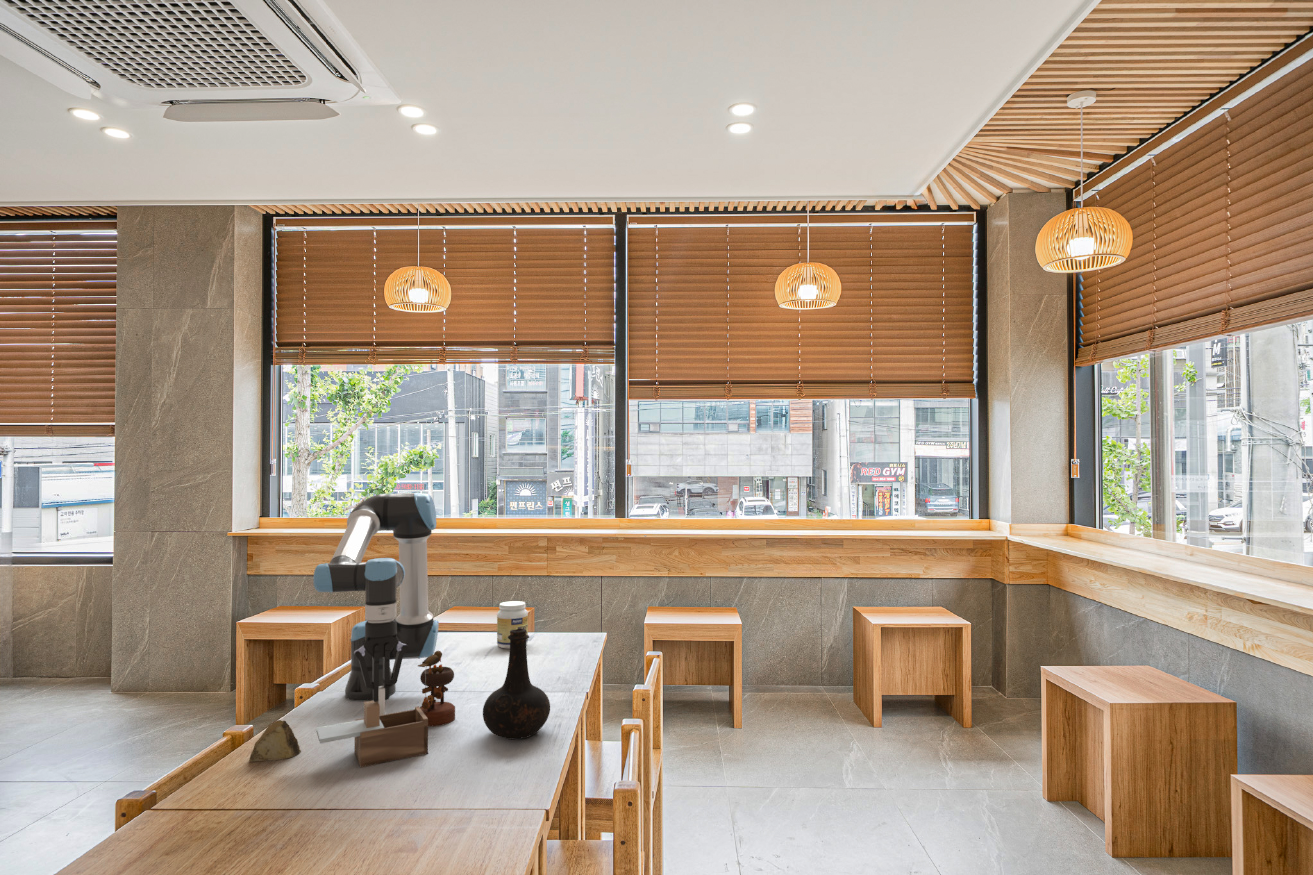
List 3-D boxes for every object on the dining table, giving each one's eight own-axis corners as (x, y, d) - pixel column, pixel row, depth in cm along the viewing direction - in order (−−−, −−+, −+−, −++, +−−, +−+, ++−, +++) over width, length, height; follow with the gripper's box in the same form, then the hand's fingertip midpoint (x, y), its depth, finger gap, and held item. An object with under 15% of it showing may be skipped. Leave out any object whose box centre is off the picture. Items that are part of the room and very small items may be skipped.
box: (354, 751, 187) (354, 717, 187) (418, 739, 195) (418, 706, 195) (360, 767, 177) (360, 730, 177) (428, 753, 185) (427, 718, 185)
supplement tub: (512, 650, 285) (512, 607, 286) (490, 646, 292) (490, 604, 293) (534, 644, 296) (534, 602, 296) (512, 640, 302) (512, 599, 303)
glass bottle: (469, 741, 193) (469, 634, 194) (506, 718, 210) (505, 620, 211) (529, 749, 187) (528, 639, 188) (561, 725, 204) (560, 624, 205)
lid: (316, 731, 182) (316, 707, 182) (378, 720, 189) (378, 697, 189) (319, 743, 174) (319, 718, 174) (384, 731, 181) (384, 707, 181)
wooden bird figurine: (446, 729, 202) (439, 656, 203) (408, 731, 203) (402, 658, 204) (466, 710, 217) (461, 642, 218) (431, 712, 219) (426, 645, 219)
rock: (236, 757, 178) (272, 754, 177) (248, 721, 184) (283, 718, 182) (264, 769, 187) (299, 766, 185) (275, 735, 192) (308, 732, 190)
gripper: (355, 625, 179) (355, 722, 179) (410, 619, 186) (410, 713, 185) (351, 620, 186) (351, 713, 185) (404, 614, 192) (404, 704, 192)
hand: (381, 713), depth 185 cm, fingers closed
